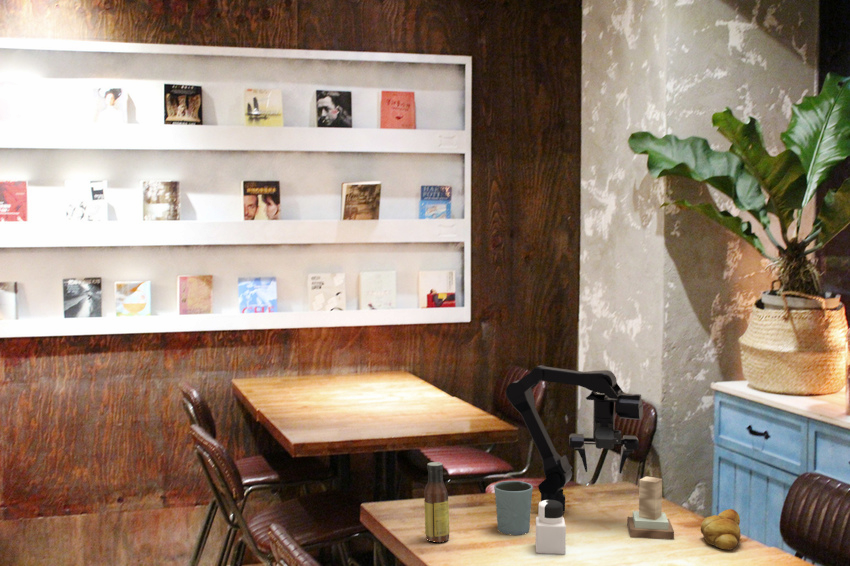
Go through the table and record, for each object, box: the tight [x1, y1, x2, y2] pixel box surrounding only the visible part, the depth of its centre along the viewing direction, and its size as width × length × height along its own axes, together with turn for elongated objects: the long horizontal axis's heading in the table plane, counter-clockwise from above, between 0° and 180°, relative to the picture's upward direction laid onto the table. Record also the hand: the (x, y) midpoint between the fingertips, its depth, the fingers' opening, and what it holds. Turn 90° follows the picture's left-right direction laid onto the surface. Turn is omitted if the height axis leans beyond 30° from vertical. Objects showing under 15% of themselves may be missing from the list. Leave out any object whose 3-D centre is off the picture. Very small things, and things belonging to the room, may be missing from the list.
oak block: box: [638, 476, 663, 520], centre depth 232 cm, size 4×4×10 cm
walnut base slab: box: [626, 516, 675, 540], centre depth 232 cm, size 11×11×2 cm
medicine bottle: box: [535, 500, 567, 555], centre depth 218 cm, size 7×7×12 cm
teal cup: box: [493, 480, 534, 536], centre depth 233 cm, size 10×10×12 cm
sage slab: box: [632, 510, 669, 530], centre depth 232 cm, size 8×8×2 cm
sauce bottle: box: [423, 461, 450, 543], centre depth 225 cm, size 7×6×20 cm
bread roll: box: [700, 508, 742, 551], centre depth 223 cm, size 13×10×8 cm
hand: (603, 472), depth 243 cm, fingers open, 9 cm apart
